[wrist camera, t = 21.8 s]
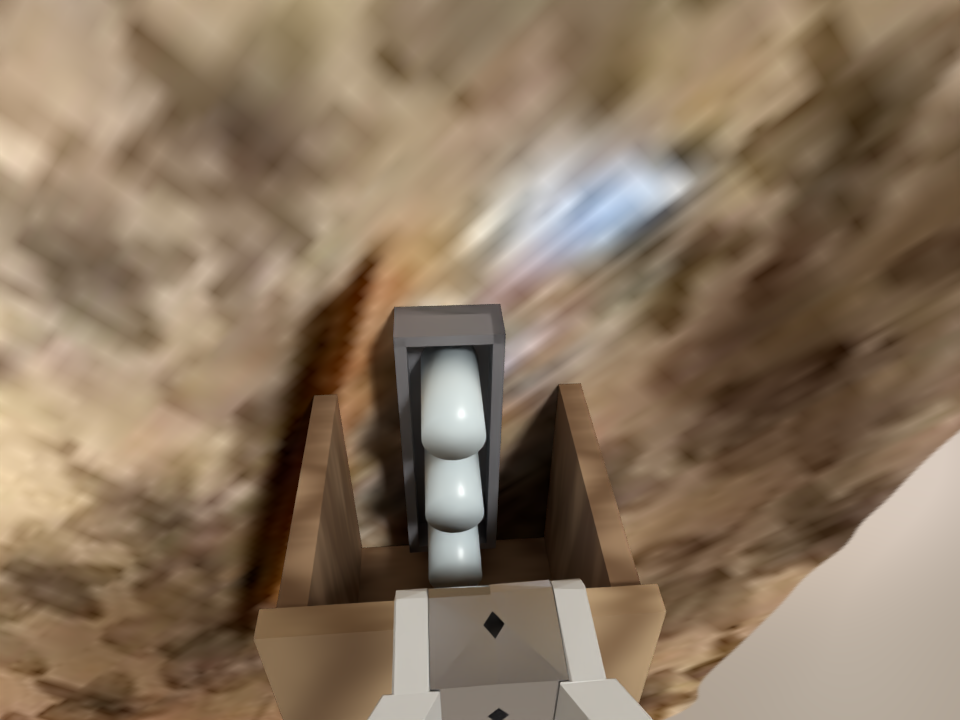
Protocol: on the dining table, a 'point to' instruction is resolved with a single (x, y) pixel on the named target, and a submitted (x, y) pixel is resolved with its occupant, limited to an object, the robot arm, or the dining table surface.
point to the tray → (410, 401)
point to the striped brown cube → (382, 570)
